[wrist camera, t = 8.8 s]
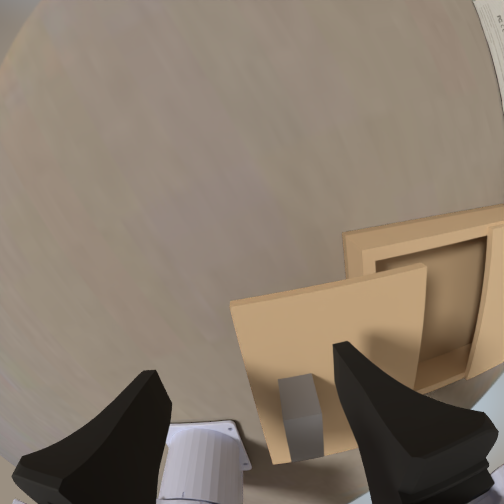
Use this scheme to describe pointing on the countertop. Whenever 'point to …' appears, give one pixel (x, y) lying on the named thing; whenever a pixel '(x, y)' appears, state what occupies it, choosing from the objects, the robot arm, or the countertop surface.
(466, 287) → the carton
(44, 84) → the countertop surface
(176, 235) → the countertop surface
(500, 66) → the hard drive box
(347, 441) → the lid flap
